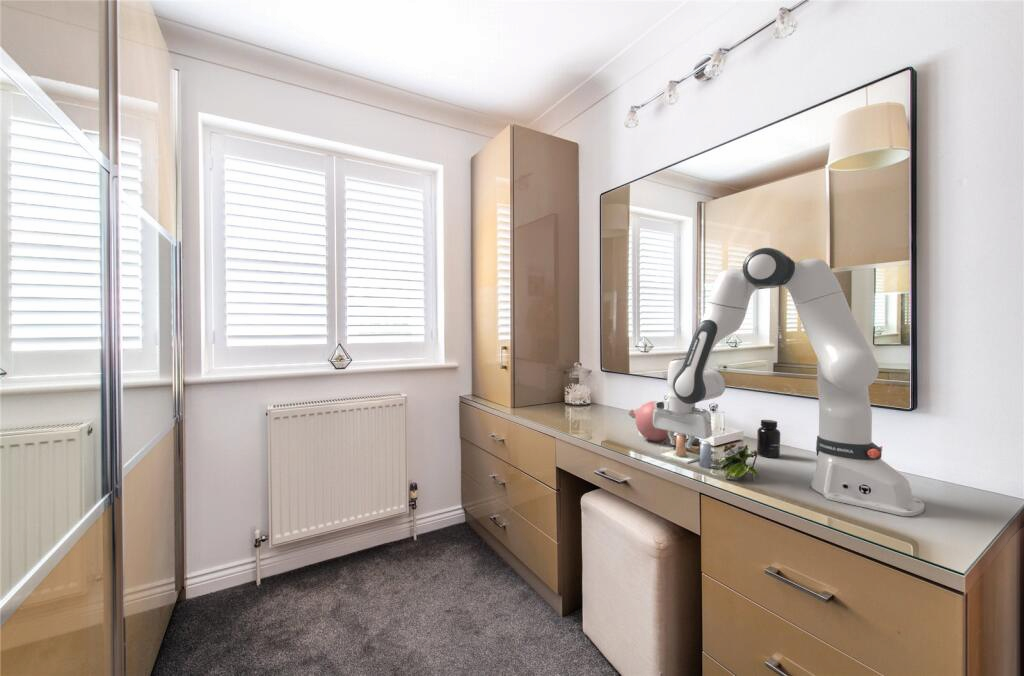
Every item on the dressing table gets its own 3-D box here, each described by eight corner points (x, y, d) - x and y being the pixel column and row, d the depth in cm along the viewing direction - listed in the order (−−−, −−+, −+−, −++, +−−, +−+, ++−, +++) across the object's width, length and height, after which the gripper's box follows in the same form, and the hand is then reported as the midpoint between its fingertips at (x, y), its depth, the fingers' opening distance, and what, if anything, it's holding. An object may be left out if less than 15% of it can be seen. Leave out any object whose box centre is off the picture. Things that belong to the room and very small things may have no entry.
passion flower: (729, 490, 128) (735, 453, 134) (766, 494, 119) (771, 455, 125) (708, 474, 124) (715, 436, 129) (745, 477, 115) (751, 437, 120)
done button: (701, 447, 151) (701, 438, 151) (695, 448, 149) (695, 440, 148) (691, 445, 154) (691, 436, 153) (686, 446, 151) (686, 438, 151)
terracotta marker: (687, 455, 143) (688, 433, 142) (682, 457, 141) (683, 434, 140) (679, 453, 145) (680, 430, 145) (673, 454, 143) (674, 432, 143)
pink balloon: (640, 431, 180) (640, 395, 179) (684, 441, 164) (684, 401, 164) (617, 437, 170) (618, 399, 170) (662, 448, 155) (662, 406, 154)
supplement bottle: (776, 459, 141) (776, 424, 140) (753, 455, 146) (754, 420, 146) (782, 455, 145) (783, 421, 145) (761, 451, 150) (761, 418, 150)
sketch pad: (704, 458, 142) (704, 456, 142) (687, 463, 137) (687, 461, 137) (677, 451, 151) (677, 449, 151) (660, 455, 145) (660, 453, 145)
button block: (710, 451, 150) (710, 444, 150) (697, 455, 145) (697, 448, 145) (689, 446, 157) (689, 440, 157) (677, 450, 152) (677, 443, 152)
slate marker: (713, 466, 133) (713, 442, 133) (707, 468, 132) (707, 443, 131) (703, 464, 136) (703, 440, 136) (697, 466, 134) (698, 441, 134)
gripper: (715, 409, 136) (715, 451, 136) (661, 400, 153) (660, 438, 153) (705, 411, 132) (704, 455, 133) (650, 402, 149) (650, 441, 149)
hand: (680, 446), depth 143 cm, fingers open, 4 cm apart
